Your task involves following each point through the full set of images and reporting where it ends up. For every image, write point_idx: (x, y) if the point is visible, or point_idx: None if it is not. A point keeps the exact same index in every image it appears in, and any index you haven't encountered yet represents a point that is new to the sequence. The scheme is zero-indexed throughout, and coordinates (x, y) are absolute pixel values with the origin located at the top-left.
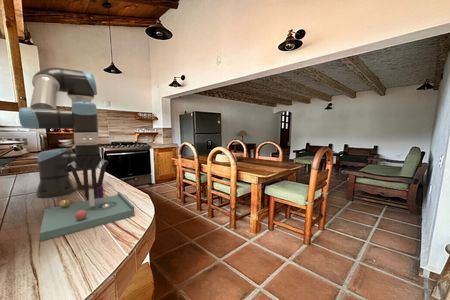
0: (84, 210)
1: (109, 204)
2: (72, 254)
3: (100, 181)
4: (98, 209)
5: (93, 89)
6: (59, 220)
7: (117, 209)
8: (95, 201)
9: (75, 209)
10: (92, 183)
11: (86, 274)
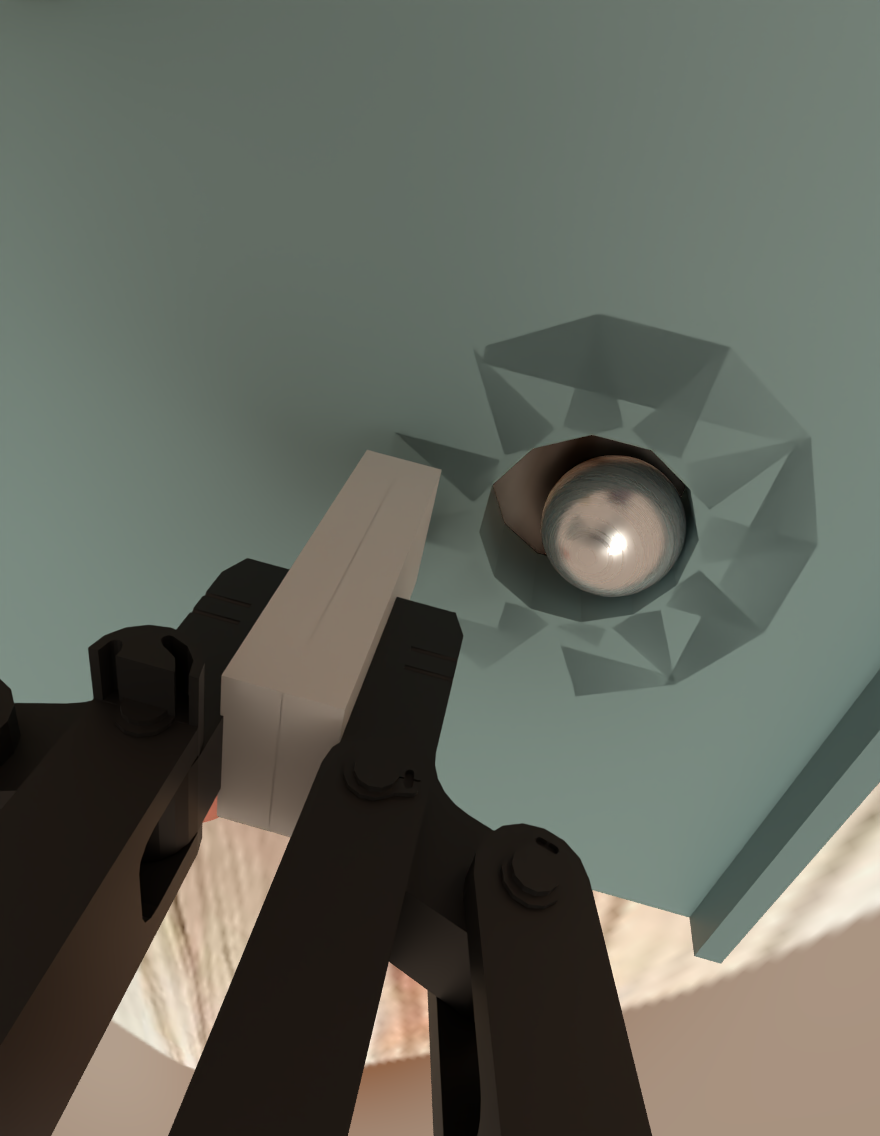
0: (214, 804)
1: (662, 573)
2: (169, 912)
3: (472, 1101)
4: (456, 605)
5: None
6: (20, 556)
7: (609, 796)
8: (634, 44)
9: (189, 278)
10: (288, 878)
11: (208, 1030)
